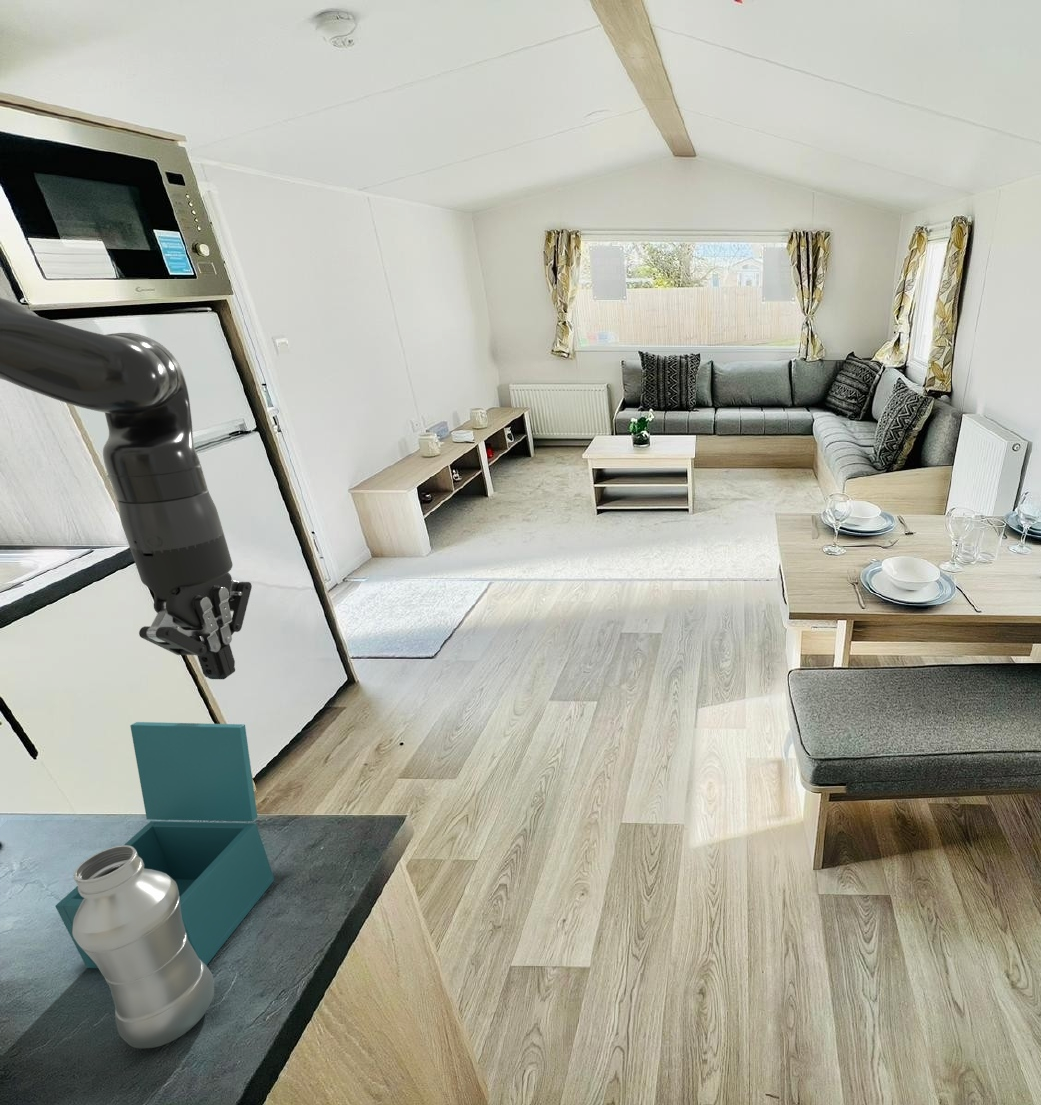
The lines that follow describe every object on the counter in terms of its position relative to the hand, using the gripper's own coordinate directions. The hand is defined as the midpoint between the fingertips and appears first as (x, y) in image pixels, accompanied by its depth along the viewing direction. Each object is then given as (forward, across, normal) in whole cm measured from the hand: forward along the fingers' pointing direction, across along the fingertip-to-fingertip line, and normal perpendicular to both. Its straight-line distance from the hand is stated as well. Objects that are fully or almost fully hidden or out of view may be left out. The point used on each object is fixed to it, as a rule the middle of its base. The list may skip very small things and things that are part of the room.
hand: (221, 675), depth 71 cm
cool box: (+23, +13, 0) cm, 26 cm away
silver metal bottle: (+23, +23, +7) cm, 33 cm away
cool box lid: (+8, +7, 0) cm, 11 cm away
